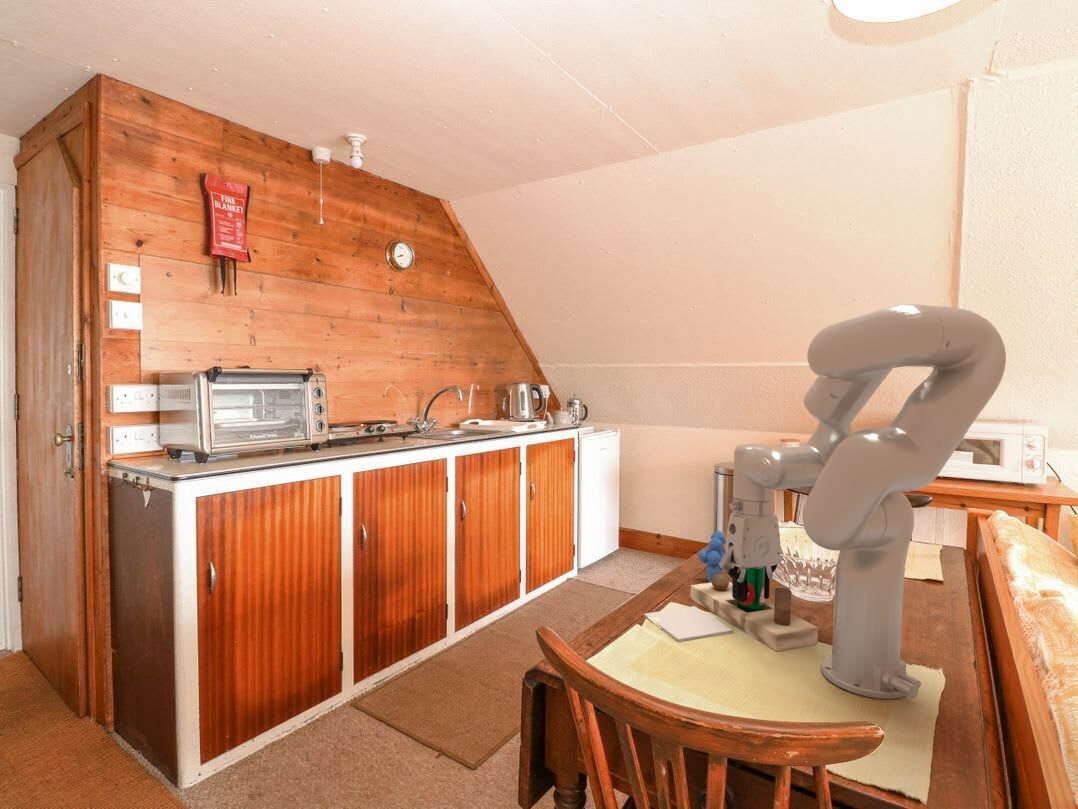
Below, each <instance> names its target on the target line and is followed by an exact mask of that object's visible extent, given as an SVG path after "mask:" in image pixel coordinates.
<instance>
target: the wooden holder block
mask: <svg viewBox="0 0 1078 809" xmlns="http://www.w3.org/2000/svg"><path fill="white" fill-rule="evenodd" d="M689 598H690V600H691V601H693V602H694V603H696V604H698V605H700V606H701V607H703V608H705V609H706V610H708V611H709V612H711V613H713V614H714V615H716V616H717V617H719V618H721V619H723V620H724V621H726V622H727V623H729V624H730V625H731V626H734V627H736V628H737V629H739V630H740V631H742V632H743V633H745V634H747V635H748V636H750V637H752V638H754V639H755V640H757V641H758V642H760V643H762V645H763V644H764V645H765V646H766V647H768V648H770V649H771V650H773V651H775V652H780V651H786V649H787V650H791V649H795V648H802V647H807V646H813V645H817V644H818V634H819V632H818V630H819V627H818V626H816V625H814V624H812V623H810V622H808V621H806V620H804V619H802V618H800V617H798V616H796V615H795V614H793V613H792V590H790V589H788V588H786V587H785V588H783V587H776V588H775V590H774V604H773V603H771V602H769V601H767V600H766V599H764V610H761V611H755V612H749V613H746V612H744V611H743V610H741V609H739V608H737V600H736V599H734V598H733V597H732V582H731V581H730V580H729V578H728V576H727V575H726V574H724V573H722V572H721V573H717V574H715V575H714V576H713V577H712V580H711V583H710V582H706V583H698V584H691V585H690V596H689Z"/></svg>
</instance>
